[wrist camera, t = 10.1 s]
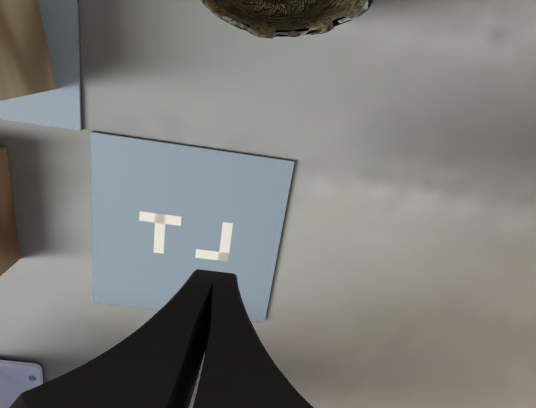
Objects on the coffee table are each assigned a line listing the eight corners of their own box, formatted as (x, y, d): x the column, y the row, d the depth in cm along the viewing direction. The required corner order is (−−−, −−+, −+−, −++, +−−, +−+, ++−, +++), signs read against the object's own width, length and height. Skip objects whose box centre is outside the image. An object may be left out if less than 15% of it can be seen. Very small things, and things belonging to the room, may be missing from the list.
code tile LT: (264, 320, 25) (264, 322, 25) (94, 301, 25) (93, 302, 24) (294, 161, 21) (294, 161, 21) (91, 131, 20) (90, 132, 20)
